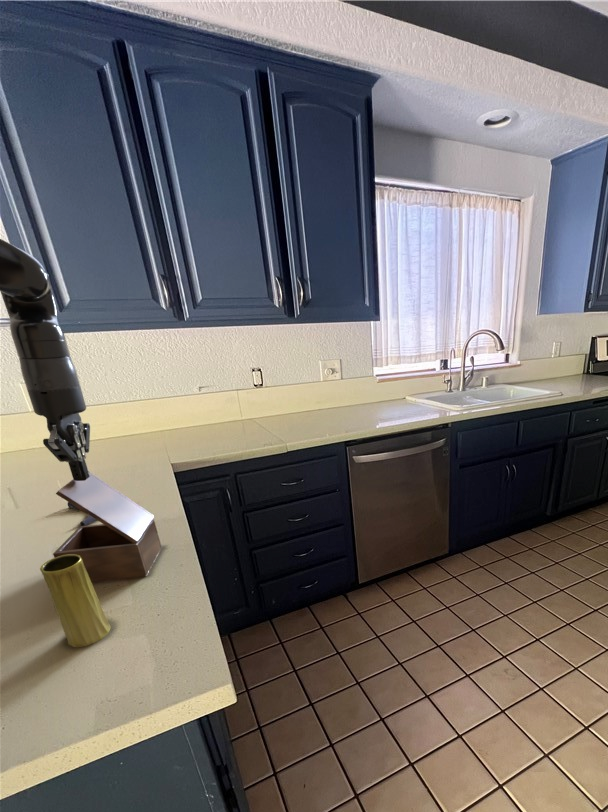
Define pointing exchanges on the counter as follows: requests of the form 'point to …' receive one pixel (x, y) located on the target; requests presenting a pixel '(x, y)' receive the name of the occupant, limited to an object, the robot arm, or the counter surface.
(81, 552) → the chest
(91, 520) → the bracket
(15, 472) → the counter surface
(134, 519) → the lid
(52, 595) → the vase
